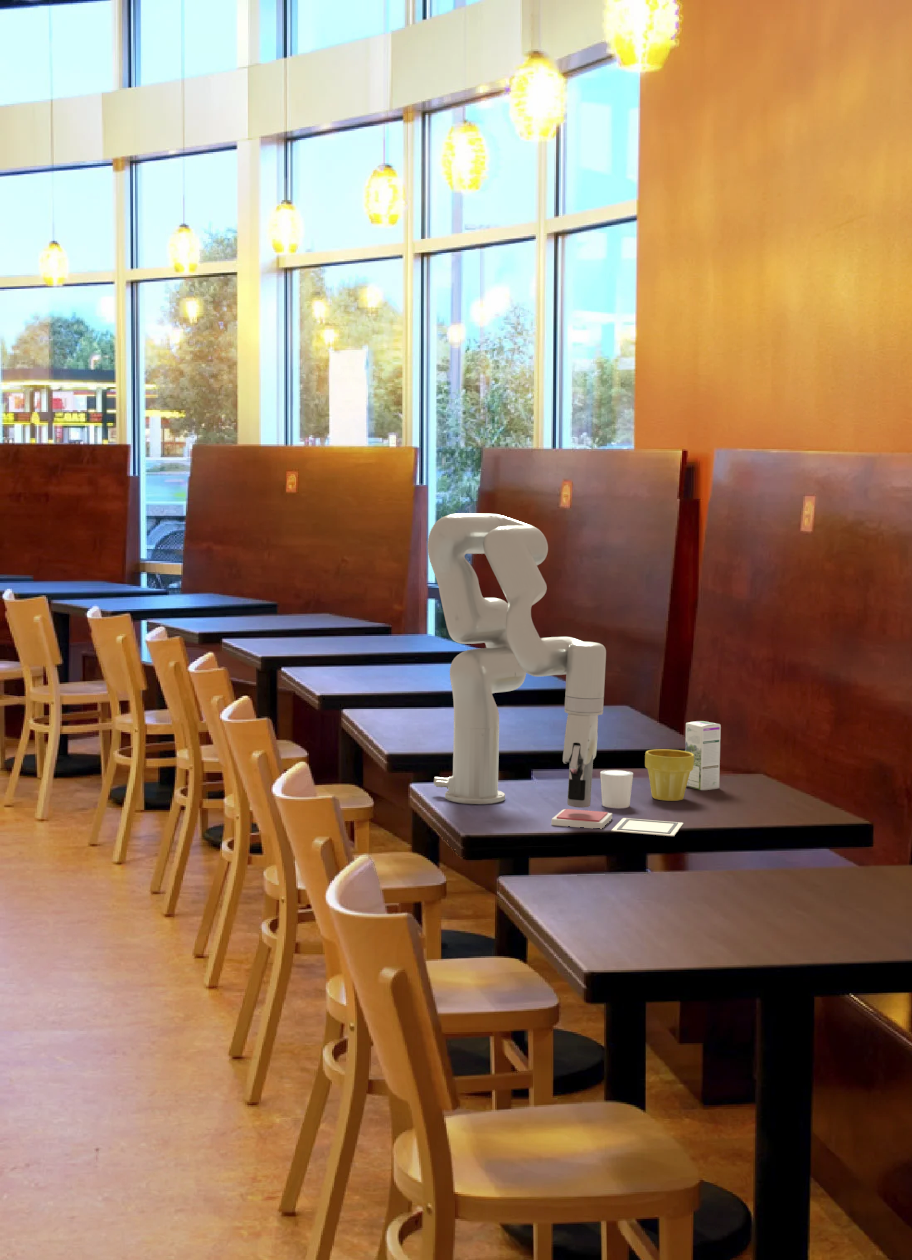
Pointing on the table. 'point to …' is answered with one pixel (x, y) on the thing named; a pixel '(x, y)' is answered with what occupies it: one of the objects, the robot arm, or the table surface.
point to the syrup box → (704, 754)
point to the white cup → (616, 788)
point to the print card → (647, 827)
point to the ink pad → (581, 818)
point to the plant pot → (668, 773)
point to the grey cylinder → (587, 787)
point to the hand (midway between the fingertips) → (579, 796)
